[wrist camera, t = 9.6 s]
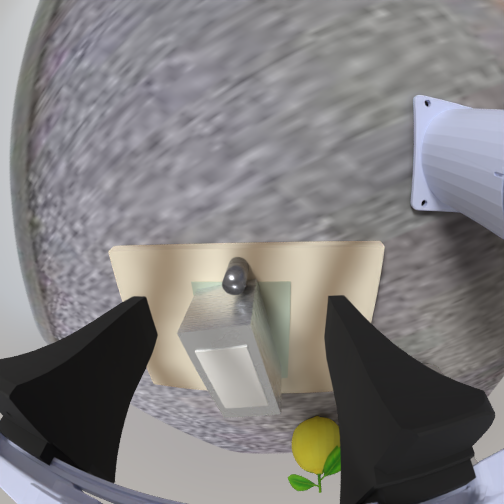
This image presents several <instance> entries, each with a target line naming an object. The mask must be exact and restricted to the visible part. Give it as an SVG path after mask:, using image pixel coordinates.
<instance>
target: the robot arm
mask: <svg viewBox="0 0 504 504" xmlns="http://www.w3.org/2000/svg"><path fill="white" fill-rule="evenodd" d="M425 100H426V101H427V102H428V107H427V106H426V105H425ZM413 109H414V158H413V178H412V192H411V206H412V207H413V208H414V209H415V210H425V211H446V212H461V213H462V214H464V215H466V216H467V217H469V218H471V219H472V220H474V221H476V222H477V223H479V224H480V225H482V226H484V227H485V228H487V229H488V230H490V231H491V232H493V233H494V234H496V235H497V236H499V237H500V238H502V239H503V240H504V110H498V109H473V108H470V107H467V106H463V105H460V104H456V103H452V102H448V101H445V100H440V99H436V98H432V97H427V96H423V95H417V96H415V97H414V99H413ZM423 200H425V204H424V205H423V206H422V205H421V203H422V201H423ZM157 337H158V333H157V330H156V327H155V324H154V321H153V318H152V314H151V311H150V308H149V305H148V301H147V298H146V297H145V296H133V297H131V298H129V299H127V300H125V301H124V302H122V303H120V304H119V305H117V306H116V307H114V308H113V309H111V310H110V311H108V312H107V313H105V314H103V315H102V316H100V317H99V318H97V319H96V320H94V321H93V322H91V323H89V324H88V325H86V326H84V327H83V328H81V329H79V330H78V331H76V332H74V333H73V334H71V335H69V336H67V337H65V338H63V339H61V340H59V341H57V342H55V343H52V344H50V345H47V346H45V347H42V348H40V349H37V350H35V351H32V352H29V353H25V354H22V355H18V356H14V357H10V358H4V359H0V413H1V414H2V415H3V417H2V418H1V420H0V487H1V488H2V489H3V490H4V491H5V492H6V493H7V494H8V495H9V496H10V497H11V498H12V499H13V500H14V501H15V502H17V504H102V503H101V502H99V501H98V500H96V499H94V498H92V497H90V496H89V495H87V494H85V493H83V491H85V492H87V493H90V494H92V495H94V496H96V497H99V498H101V499H104V500H106V501H109V502H111V503H114V504H187V503H181V502H177V501H172V500H168V499H164V498H160V497H155V496H152V495H148V494H145V493H141V492H138V491H134V490H131V489H128V488H125V487H122V486H119V485H116V484H114V482H115V472H116V462H117V455H118V449H119V443H120V438H121V434H122V429H123V426H124V421H125V418H126V415H127V411H128V408H129V405H130V402H131V399H132V397H133V394H134V392H135V390H136V388H137V386H138V384H139V382H140V379H141V377H142V375H143V373H144V371H145V369H146V367H147V365H148V362H149V360H150V358H151V356H152V353H153V350H154V347H155V344H156V340H157ZM324 340H325V350H326V360H327V364H328V369H329V373H330V378H331V382H332V387H333V391H334V396H335V400H336V405H337V411H338V420H339V434H340V454H341V491H340V504H504V449H502V450H500V451H498V452H496V453H494V454H493V455H491V456H489V457H487V458H485V459H483V460H481V461H479V462H478V463H476V464H475V465H472V462H471V458H473V457H474V450H473V448H472V446H473V445H474V444H475V443H476V442H477V441H478V440H479V438H481V437H482V435H483V434H484V433H485V432H486V431H487V430H488V429H489V427H490V426H491V425H492V423H493V420H494V418H495V412H494V410H493V408H492V406H491V404H490V402H489V400H488V398H487V396H486V394H485V392H484V391H483V390H480V389H477V388H474V387H471V386H468V385H466V384H463V383H460V382H457V381H455V380H453V379H451V378H449V377H446V376H444V375H442V374H440V373H438V372H436V371H434V370H432V369H431V368H429V367H427V366H426V365H424V364H422V363H421V362H419V361H417V360H416V359H414V358H413V357H411V356H410V355H408V354H407V353H406V352H404V351H403V350H401V349H400V348H399V347H397V346H396V345H395V344H393V343H392V342H391V341H390V340H389V339H387V338H386V337H385V336H384V335H383V334H382V333H381V332H379V331H378V330H377V329H376V328H375V327H374V326H373V325H372V324H371V323H370V322H369V321H368V320H367V319H366V318H365V317H364V316H363V315H362V314H361V313H360V312H359V311H358V309H357V308H356V307H355V306H354V305H353V304H352V303H351V302H350V301H349V300H348V299H347V298H346V297H345V296H344V295H334V296H328V304H327V315H326V325H325V334H324ZM82 490H83V491H82Z"/></svg>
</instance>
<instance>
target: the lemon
mask: <svg viewBox="0 0 504 504" xmlns="http://www.w3.org/2000/svg"><path fill="white" fill-rule="evenodd" d="M292 452H293V455H294V458H295V460H296V461H297V463H298V464H299V466H300V467H301V468H302V469H304V470H306V471H307V472H310V473H315V474H316V475H318V484H319V486H318V485H315V484H314V483H313V482H311V481H310V480H308V479H306V478H304V477H302V476H299V475H295V474H292V475H290V476H289V477H288V480H289V482H290V484H291V486H292V487H293V488H294V489H296V490H297V491H304V490H308V489H310V488H311V487H313V486H318V487H319V493H321V480H322V479H323V478H324V477H325V476H328V475H332V474H335V473H337V472H339V471H341V454H340V434H339V426H338V425H337V424H336V423H335V422H334V421H332V420H331V419H329V418H324V417H319V416H315V417H314V418H310V419H308V420H305V421H304V422H302V423H300V424H299V425H298V427H297V428H296V429H295V431H294V433H293V437H292ZM323 473H324V476H323V477H322V478H321V479H320V476H321V474H323Z"/></svg>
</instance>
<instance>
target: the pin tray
mask: <svg viewBox="0 0 504 504" xmlns="http://www.w3.org/2000/svg"><path fill="white" fill-rule="evenodd" d="M384 248H385V246H384V245H383V244H382V243H381V241H325V242H258V243H208V244H167V245H130V246H114V247H113V248H111V249H110V250H109V251H108V252H109V256H110V260H111V264H112V267H113V271H114V275H115V278H116V282H117V285H118V288H119V292H120V295H121V298H122V301H123V302H124V301H125V300H127V299H129V298H131V297H133V296H145V297H146V298H147V301H148V305H149V308H150V311H151V314H152V318H153V321H154V324H155V327H156V330H157V333H158V337H157V340H156V344H155V347H154V350H153V353H152V356H151V358H150V360H149V362H148V365H147V369H148V372H149V374H150V377H151V379H152V381H153V383H154V384H157V385H164V386H171V387H179V388H188V389H198V390H207V388H206V387H205V385H204V383H203V381H202V380H201V378H200V376H199V374H198V372H197V371H196V369H195V367H194V365H193V363H192V361H191V360H190V358H189V356H188V354H187V352H186V350H185V348H184V346H183V344H182V342H181V340H180V338H179V336H178V334H177V332H178V330H179V328H180V325H181V323H182V321H183V319H184V317H185V314H186V312H187V310H188V308H189V306H190V303H191V301H192V299H193V297H194V295H195V293H196V290H197V289H200V288H206V287H212V286H218V285H222V287H223V289H224V291H225V292H227V293H228V294H230V295H239V294H241V293H242V292H243V291H244V289H245V286H246V280H252V279H257V282H258V286H259V289H260V293H261V296H262V300H263V303H264V307H265V311H266V314H267V318H268V321H269V325H270V328H271V332H272V335H273V339H274V343H275V346H276V350H277V353H278V357H279V360H280V364H281V393H312V392H329V391H333V387H332V382H331V378H330V373H329V369H328V364H327V360H326V350H325V340H324V334H325V325H326V315H327V304H328V296H334V295H344V296H345V297H346V298H347V299H348V300H349V301H350V302H351V303H352V304H353V305H354V306H355V307H356V308H357V309H358V311H359V312H360V313H361V314H362V315H363V316H364V317H365V318H366V319H367V320H368V321H369V322H370V323H371V320H372V316H373V311H374V307H375V302H376V297H377V291H378V286H379V280H380V275H381V269H382V262H383V255H384Z"/></svg>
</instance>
